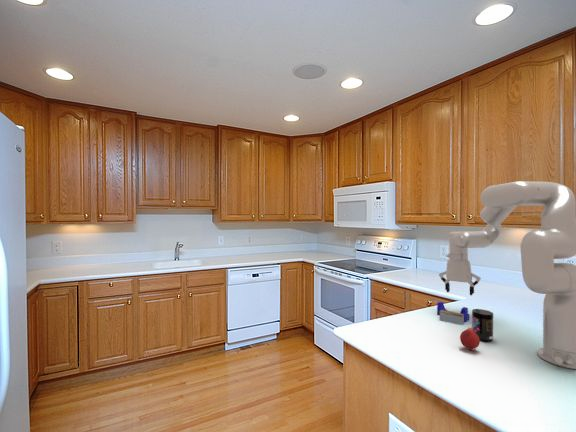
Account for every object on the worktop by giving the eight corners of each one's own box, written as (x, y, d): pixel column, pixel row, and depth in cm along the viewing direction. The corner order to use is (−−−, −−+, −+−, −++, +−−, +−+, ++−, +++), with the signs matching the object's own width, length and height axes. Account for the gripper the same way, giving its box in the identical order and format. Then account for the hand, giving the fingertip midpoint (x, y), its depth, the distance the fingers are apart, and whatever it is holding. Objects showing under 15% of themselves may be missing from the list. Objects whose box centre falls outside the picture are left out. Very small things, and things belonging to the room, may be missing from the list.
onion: (472, 355, 96) (472, 331, 96) (456, 348, 102) (456, 325, 102) (483, 352, 99) (483, 329, 99) (467, 345, 104) (467, 323, 104)
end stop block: (462, 325, 123) (462, 315, 123) (439, 320, 129) (439, 311, 129) (464, 323, 125) (464, 314, 125) (441, 318, 131) (441, 309, 131)
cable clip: (469, 320, 129) (469, 307, 129) (465, 322, 127) (465, 309, 127) (441, 313, 139) (441, 301, 139) (437, 315, 136) (437, 302, 136)
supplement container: (476, 333, 114) (476, 307, 114) (496, 340, 108) (496, 312, 108) (468, 338, 110) (468, 311, 110) (488, 344, 105) (489, 316, 105)
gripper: (436, 256, 140) (437, 291, 139) (478, 259, 129) (479, 297, 128) (440, 255, 146) (441, 289, 145) (481, 257, 134) (482, 294, 134)
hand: (459, 293), depth 137 cm, fingers open, 9 cm apart
